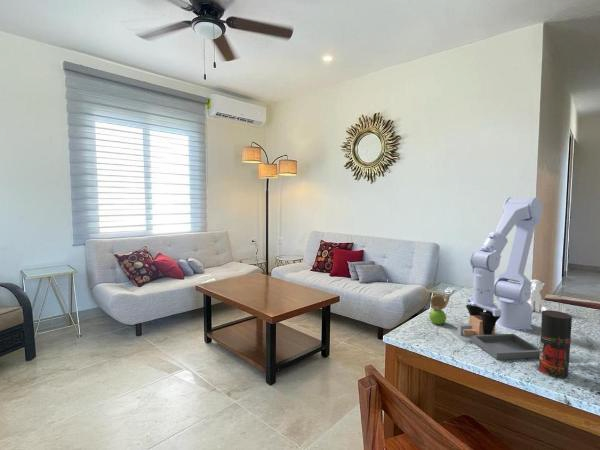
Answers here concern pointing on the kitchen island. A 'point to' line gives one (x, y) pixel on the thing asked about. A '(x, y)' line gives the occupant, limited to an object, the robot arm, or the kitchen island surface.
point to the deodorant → (555, 343)
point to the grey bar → (463, 326)
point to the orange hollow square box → (476, 326)
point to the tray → (506, 346)
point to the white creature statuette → (536, 296)
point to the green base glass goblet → (438, 309)
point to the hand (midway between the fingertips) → (481, 330)
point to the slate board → (463, 337)
